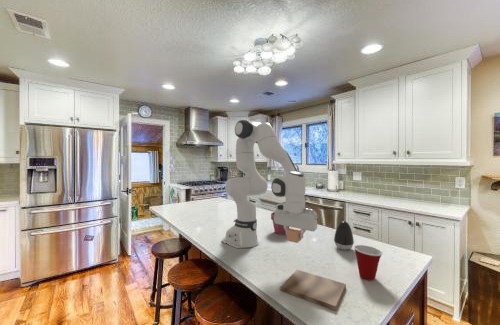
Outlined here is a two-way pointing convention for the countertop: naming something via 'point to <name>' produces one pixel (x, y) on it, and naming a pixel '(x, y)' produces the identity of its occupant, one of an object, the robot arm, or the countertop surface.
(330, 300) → the walnut board
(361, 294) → the countertop surface
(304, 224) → the robot arm
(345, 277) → the countertop surface
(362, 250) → the plastic cup
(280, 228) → the plant pot
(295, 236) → the cube
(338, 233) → the black glossy tall piece
